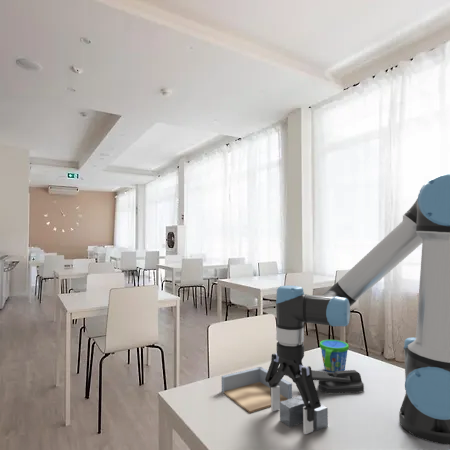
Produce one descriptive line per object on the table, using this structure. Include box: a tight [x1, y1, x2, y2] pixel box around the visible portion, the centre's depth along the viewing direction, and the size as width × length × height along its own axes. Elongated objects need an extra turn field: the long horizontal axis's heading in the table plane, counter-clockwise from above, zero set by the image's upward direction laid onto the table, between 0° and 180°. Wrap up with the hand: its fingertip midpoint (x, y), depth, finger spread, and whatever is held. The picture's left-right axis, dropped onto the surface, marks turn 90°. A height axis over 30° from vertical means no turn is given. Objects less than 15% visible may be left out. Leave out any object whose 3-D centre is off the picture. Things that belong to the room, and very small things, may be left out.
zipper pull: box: [296, 369, 365, 395], centre depth 114 cm, size 9×7×25 cm
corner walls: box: [221, 366, 293, 399], centre depth 109 cm, size 16×16×5 cm
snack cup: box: [319, 339, 350, 373], centre depth 130 cm, size 16×10×10 cm
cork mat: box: [223, 382, 288, 414], centre depth 108 cm, size 15×14×1 cm
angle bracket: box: [279, 395, 329, 432], centre depth 92 cm, size 9×9×5 cm
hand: (290, 420), depth 93 cm, fingers open, 13 cm apart
